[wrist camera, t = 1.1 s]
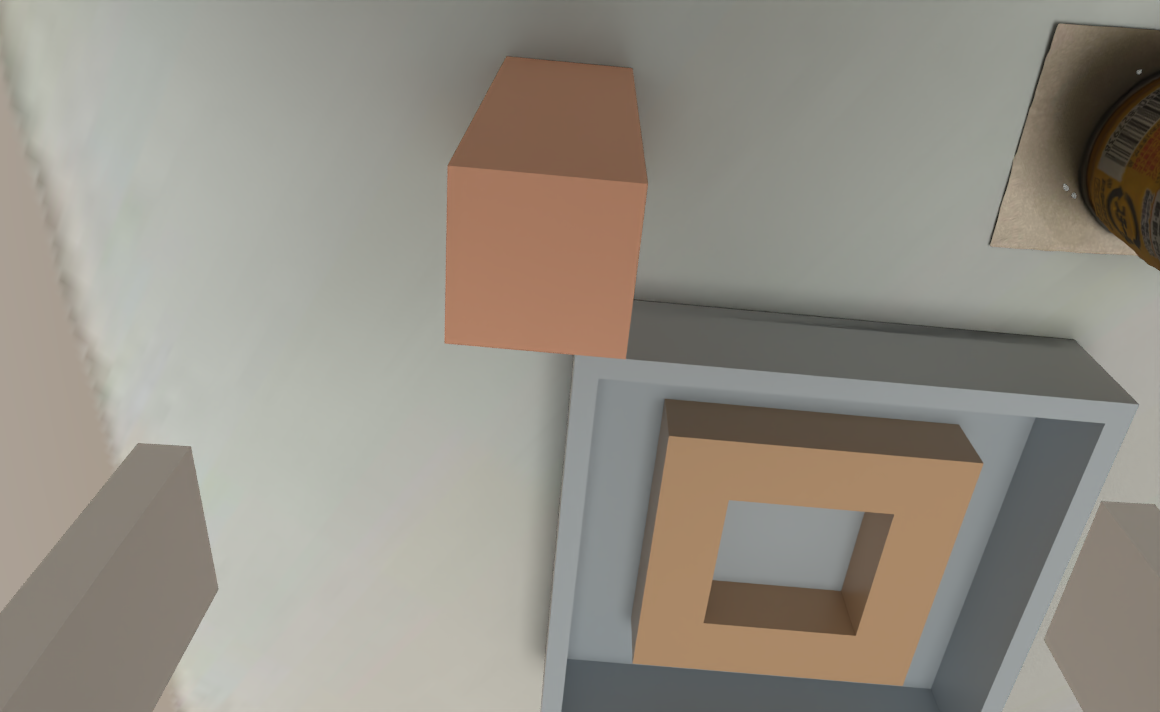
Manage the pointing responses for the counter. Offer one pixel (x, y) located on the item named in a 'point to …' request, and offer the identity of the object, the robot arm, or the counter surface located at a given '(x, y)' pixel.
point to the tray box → (817, 512)
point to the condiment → (1090, 149)
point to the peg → (547, 212)
